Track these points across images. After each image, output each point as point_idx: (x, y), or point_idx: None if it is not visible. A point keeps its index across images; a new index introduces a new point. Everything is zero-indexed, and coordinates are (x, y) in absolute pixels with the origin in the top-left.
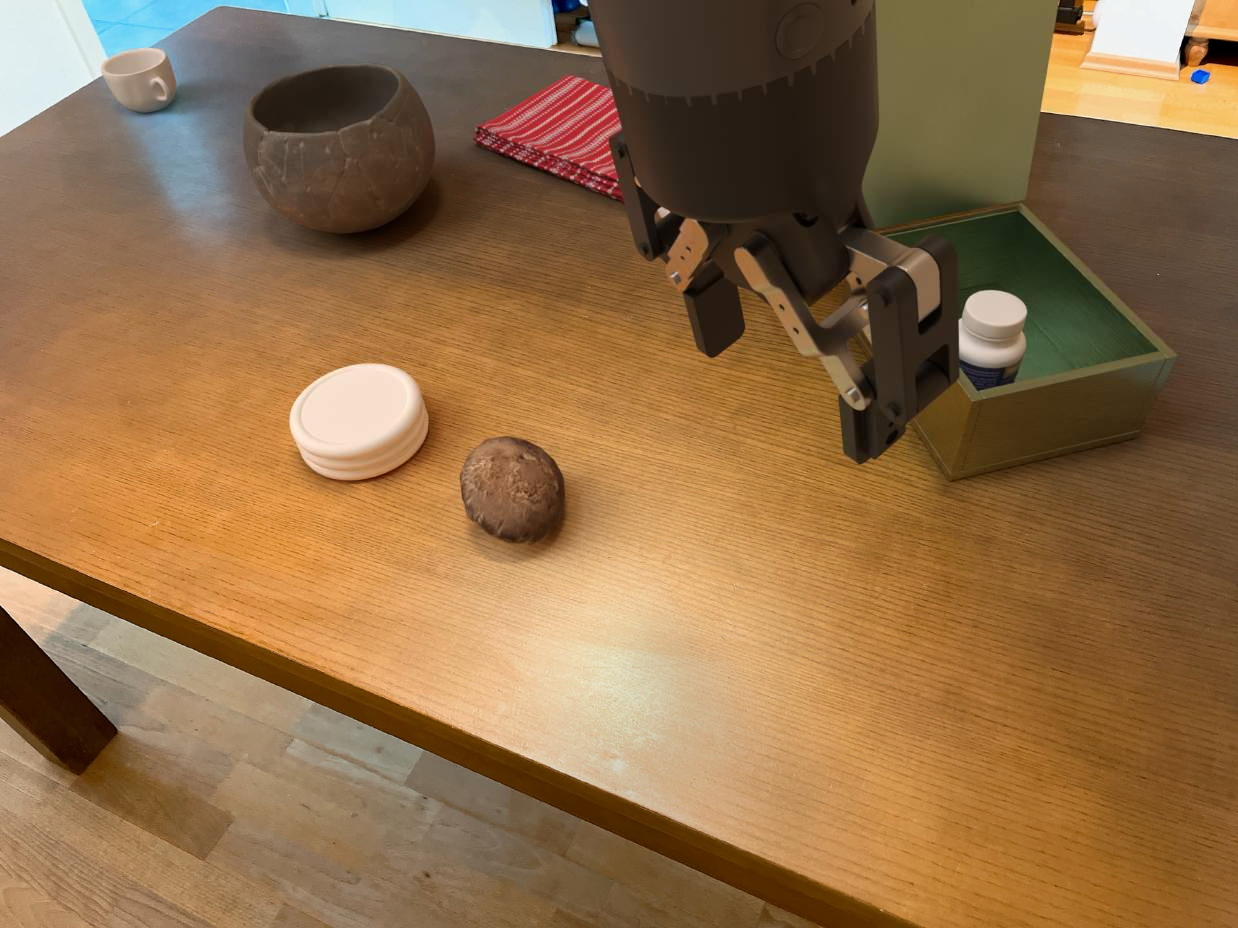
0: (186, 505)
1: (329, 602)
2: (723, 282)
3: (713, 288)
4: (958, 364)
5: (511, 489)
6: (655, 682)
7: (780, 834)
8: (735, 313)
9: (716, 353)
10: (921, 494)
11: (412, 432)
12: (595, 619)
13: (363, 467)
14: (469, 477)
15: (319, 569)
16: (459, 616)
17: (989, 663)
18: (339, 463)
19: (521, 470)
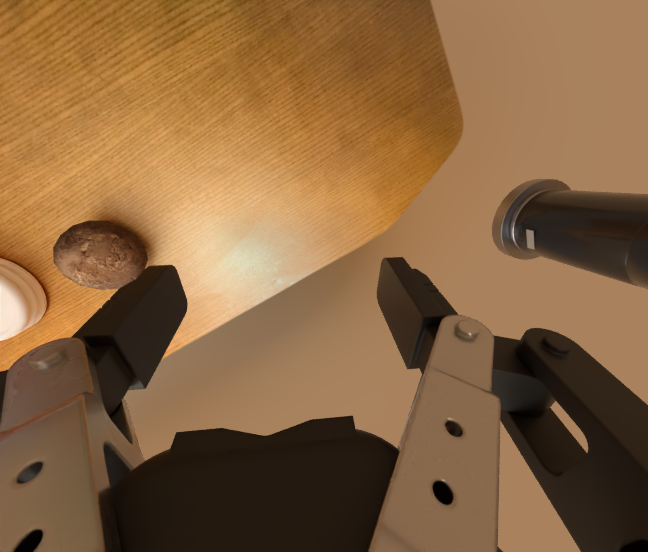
0: None
1: None
2: (128, 344)
3: (135, 361)
4: (599, 365)
5: (110, 268)
6: (255, 248)
7: (339, 248)
8: (158, 291)
9: (184, 300)
10: (232, 17)
11: (15, 279)
12: (208, 251)
13: (38, 310)
14: (88, 284)
15: None
16: None
17: (343, 106)
18: (29, 322)
19: (96, 257)
